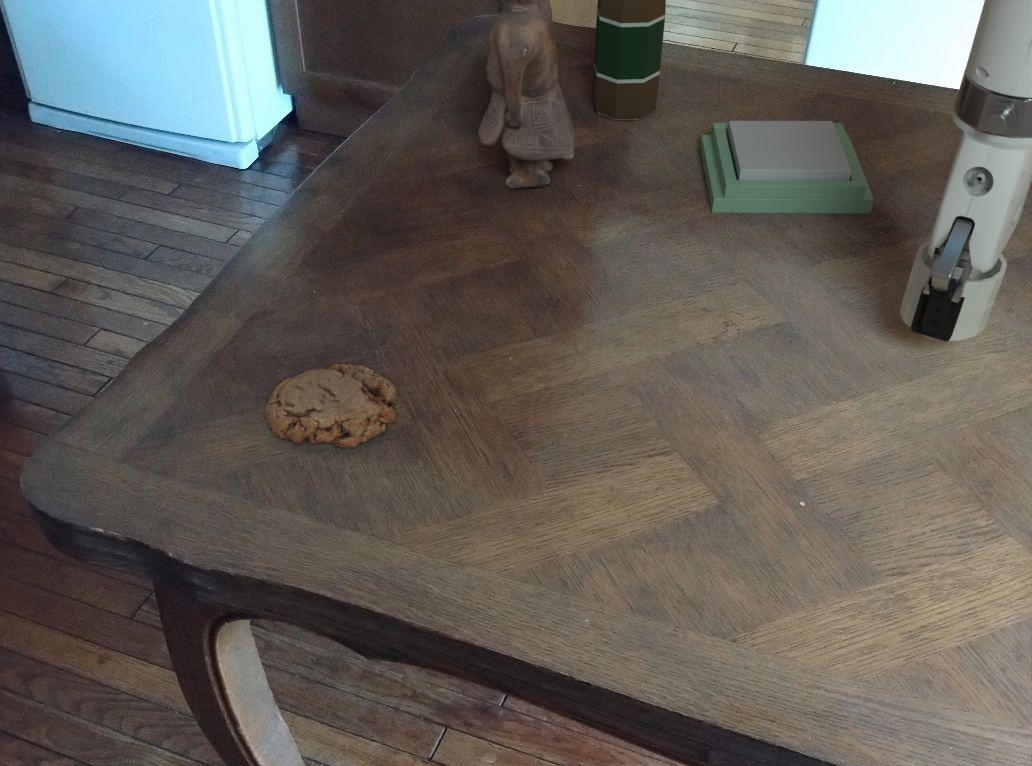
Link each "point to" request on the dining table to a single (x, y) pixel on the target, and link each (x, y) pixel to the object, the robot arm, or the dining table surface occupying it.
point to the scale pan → (787, 150)
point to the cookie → (332, 406)
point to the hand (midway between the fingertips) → (944, 309)
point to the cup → (976, 294)
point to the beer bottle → (628, 57)
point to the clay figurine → (526, 94)
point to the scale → (780, 184)
